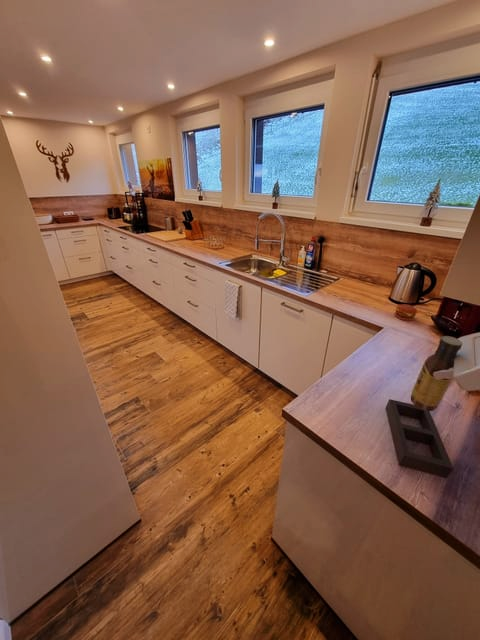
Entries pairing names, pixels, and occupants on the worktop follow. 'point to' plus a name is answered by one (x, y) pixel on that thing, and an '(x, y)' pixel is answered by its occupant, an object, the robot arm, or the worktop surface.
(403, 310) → the hamburger
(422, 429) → the caddy
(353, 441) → the worktop surface
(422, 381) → the sauce bottle
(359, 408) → the worktop surface
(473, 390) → the robot arm
